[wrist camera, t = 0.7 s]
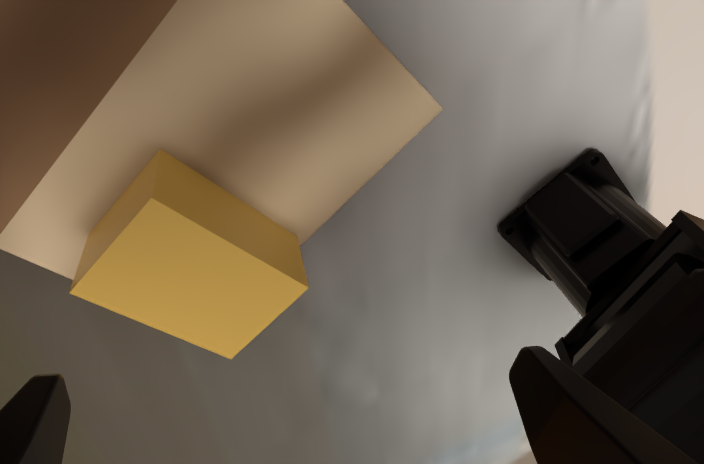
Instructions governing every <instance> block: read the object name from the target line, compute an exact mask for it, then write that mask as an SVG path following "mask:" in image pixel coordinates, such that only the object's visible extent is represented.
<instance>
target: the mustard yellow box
mask: <svg viewBox="0 0 704 464" xmlns="http://www.w3.org/2000/svg"><path fill="white" fill-rule="evenodd" d="M308 288H309V286H308V282H307V278H306V273H305V269H304V265H303V260H302V256H301V252H300V247H299V243H298V239H297V236H296V235H294V234H293V233H291V232H289V231H288V230H286V229H285V228H283V227H282V226H280V225H279V224H277V223H275V222H274V221H272V220H271V219H269V218H268V217H266V216H265V215H263V214H261V213H260V212H258V211H257V210H255V209H254V208H252V207H251V206H249V205H247V204H246V203H244V202H243V201H241V200H240V199H238V198H237V197H235V196H233V195H232V194H230V193H229V192H227V191H226V190H224V189H223V188H221V187H219V186H218V185H216V184H215V183H213V182H212V181H210V180H209V179H207V178H205V177H204V176H202V175H201V174H199V173H198V172H196V171H194V170H193V169H191V168H190V167H188V166H187V165H185V164H184V163H182V162H180V161H179V160H177V159H176V158H174V157H173V156H171V155H170V154H168V153H166V152H165V151H163V150H162V149H160V150H159V151H158V152H157V153H156V154H155V156H154V157H153V158H152V159H151V160H150V162H149V163H148V164H147V165H146V166H145V167H144V169H143V170H142V171H141V172H140V173H139V175H138V176H137V177H136V178H135V179H134V181H133V182H132V183H131V184H130V185H129V187H128V188H127V189H126V190H125V191H124V193H123V194H122V195H121V196H120V197H119V199H118V200H117V201H116V202H115V203H114V204H113V206H112V207H111V208H110V209H109V210H108V212H107V213H106V214H105V215H104V216H103V218H102V219H101V220H100V221H99V222H98V224H97V225H96V226H95V227H94V228H93V230H92V231H91V232H90V233H89V234H88V237H87V240H86V243H85V246H84V249H83V252H82V255H81V259H80V262H79V265H78V268H77V271H76V274H75V277H74V280H73V283H72V286H71V289H70V292H69V293H70V294H73V295H75V296H78V297H80V298H82V299H85V300H87V301H90V302H92V303H95V304H97V305H100V306H102V307H104V308H107V309H109V310H112V311H114V312H117V313H119V314H122V315H124V316H126V317H129V318H131V319H134V320H136V321H139V322H141V323H144V324H146V325H148V326H151V327H153V328H156V329H158V330H161V331H163V332H166V333H168V334H170V335H173V336H175V337H178V338H180V339H183V340H185V341H188V342H190V343H192V344H195V345H197V346H200V347H202V348H205V349H207V350H210V351H212V352H214V353H217V354H219V355H222V356H224V357H227V358H229V359H232V358H233V357H234V356H235V355H236V354H237V353H238V352H239V351H240V350H242V349H243V348H244V347H245V346H246V345H247V344H248V343H249V342H250V341H251V340H252V339H254V338H255V337H256V336H257V335H258V334H259V333H260V332H261V331H262V330H263V329H265V328H266V327H267V326H268V325H269V324H270V323H271V322H272V321H273V320H274V319H275V318H277V317H278V316H279V315H280V314H281V313H282V312H283V311H284V310H285V309H286V308H287V307H289V306H290V305H291V304H292V303H293V302H294V301H295V300H296V299H297V298H298V297H299V296H301V295H302V294H303V293H304V292H305V291H306V290H307V289H308Z"/></svg>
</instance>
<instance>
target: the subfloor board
mask: <svg viewBox="0 0 704 464" xmlns="http://www.w3.org/2000/svg"><path fill="white" fill-rule="evenodd" d="M441 110H443V108H442V107H441V106H440V105H439V104H438V103H437V102H436V101H435V100H434V99H433V98H432V96H431V95H430V94H429V93H428V92H427V91H426V90H425V89H424V88H423V87H422V86H421V84H420V83H419V82H418V81H417V80H416V79H415V78H414V77H413V76H412V75H411V74H410V73H409V71H408V70H407V69H406V68H405V67H404V66H403V65H402V64H401V63H400V62H399V61H398V60H397V58H396V57H395V56H394V55H393V54H392V53H391V52H390V51H389V50H388V49H387V48H386V46H385V45H384V44H383V43H382V42H381V41H380V40H379V39H378V38H377V37H376V36H375V35H374V33H373V32H372V31H371V30H370V29H369V28H368V27H367V26H366V25H365V24H364V23H363V21H362V20H361V19H360V18H359V17H358V16H357V15H356V14H355V13H354V12H353V11H352V10H351V8H350V7H349V6H348V5H347V4H346V3H345V2H344V1H343V0H0V249H2V250H4V251H7V252H9V253H11V254H14V255H16V256H18V257H21V258H23V259H25V260H28V261H30V262H32V263H35V264H37V265H39V266H42V267H44V268H46V269H49V270H51V271H53V272H56V273H58V274H61V275H63V276H65V277H68V278H70V279H72V280H74V277H75V274H76V271H77V268H78V265H79V262H80V259H81V255H82V252H83V249H84V246H85V243H86V240H87V237H88V234H89V233H90V232H91V231H92V230H93V228H94V227H95V226H96V225H97V224H98V222H99V221H100V220H101V219H102V218H103V216H104V215H105V214H106V213H107V212H108V210H109V209H110V208H111V207H112V206H113V204H114V203H115V202H116V201H117V200H118V199H119V197H120V196H121V195H122V194H123V193H124V191H125V190H126V189H127V188H128V187H129V185H130V184H131V183H132V182H133V181H134V179H135V178H136V177H137V176H138V175H139V173H140V172H141V171H142V170H143V169H144V167H145V166H146V165H147V164H148V163H149V162H150V160H151V159H152V158H153V157H154V156H155V154H156V153H157V152H158V151H159V150H160V149H162V150H163V151H165V152H166V153H168V154H170V155H171V156H173V157H174V158H176V159H177V160H179V161H180V162H182V163H184V164H185V165H187V166H188V167H190V168H191V169H193V170H194V171H196V172H198V173H199V174H201V175H202V176H204V177H205V178H207V179H209V180H210V181H212V182H213V183H215V184H216V185H218V186H219V187H221V188H223V189H224V190H226V191H227V192H229V193H230V194H232V195H233V196H235V197H237V198H238V199H240V200H241V201H243V202H244V203H246V204H247V205H249V206H251V207H252V208H254V209H255V210H257V211H258V212H260V213H261V214H263V215H265V216H266V217H268V218H269V219H271V220H272V221H274V222H275V223H277V224H279V225H280V226H282V227H283V228H285V229H286V230H288V231H289V232H291V233H293V234H294V235H296V236H297V239H298V243H299V247H300V246H301V245H302V244H303V243H304V242H305V241H306V240H307V239H308V238H309V237H310V236H311V235H312V234H313V233H314V232H315V231H316V230H317V229H318V228H319V227H320V226H322V225H323V224H324V223H325V222H326V221H327V220H328V219H329V218H330V217H331V216H332V215H333V214H334V213H335V212H336V211H337V210H338V209H339V208H340V207H341V206H342V205H343V204H344V203H345V202H347V201H348V200H349V199H350V198H351V197H352V196H353V195H354V194H355V193H356V192H357V191H358V190H359V189H360V188H361V187H362V186H363V185H364V184H365V183H366V182H367V181H368V180H369V179H371V178H372V177H373V176H374V175H375V174H376V173H377V172H378V171H379V170H380V169H381V168H382V167H383V166H384V165H385V164H386V163H387V162H388V161H389V160H390V159H391V158H392V157H393V156H395V155H396V154H397V153H398V152H399V151H400V150H401V149H402V148H403V147H404V146H405V145H406V144H407V143H408V142H409V141H410V140H411V139H412V138H413V137H414V136H415V135H416V134H417V133H419V132H420V131H421V130H422V129H423V128H424V127H425V126H426V125H427V124H428V123H429V122H430V121H431V120H432V119H433V118H434V117H435V116H436V115H437V114H438V113H439V112H440V111H441Z"/></svg>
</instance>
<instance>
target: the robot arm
mask: <svg viewBox="0 0 704 464" xmlns="http://www.w3.org/2000/svg"><path fill="white" fill-rule="evenodd" d="M593 158H594V159H593ZM592 159H593V160H592ZM591 160H592V161H591ZM671 220H672V221H673V222H672V223H671V224H670V225H669V226H668V227H666V226H665V225H663V224H662V223H661V222H660V221H658V220H657V219H656V218H655V217H653V216H652V215H651V214H650V213H648V212H647V211H646V210H645V209H643V208H642V207H641V206H640V205H638V204H637V203H636V202H635V200H634V199H633V197H632V196H631V194H630V193H629V191H628V190H627V188H626V187H625V186H624V184H623V183H622V181H621V180H620V178H619V177H618V175H617V174H616V172H615V171H614V169H613V168H612V166H611V165H610V164H609V162H608V161H607V159H606V158H605V156H604V155H603V154H602V153H601V152H600V151H598V150H597V149H591V150H589V151H587V152H586V153H584V154H583V155H582V156H581V157H580V158H578V159H577V160H576V161H575V162H574V163H572V164H571V165H570V166H569V167H568V168H566V169H565V170H564V171H563V172H562V173H560V174H559V175H558V176H557V177H556V178H554V179H553V180H552V181H551V182H550V183H548V184H547V185H546V186H545V187H544V188H542V189H541V190H540V191H539V192H538V193H536V194H535V195H534V196H533V197H532V198H530V199H529V200H528V201H527V202H526V203H524V204H523V205H522V206H521V207H520V208H518V209H517V210H516V211H515V212H513V213H512V214H511V215H510V216H509V217H507V218H506V219H505V220H504V221H503V222H501V224H500V225H499V227H498V232H499V233H500V235H501V236H502V237H503V238H504V239H505V240H506V241H507V242H508V243H509V244H510V245H511V246H512V247H514V248H515V249H516V250H517V251H518V252H519V253H520V254H521V255H522V256H523V257H524V258H525V259H526V260H527V261H528V262H529V263H531V264H532V265H533V266H534V267H535V268H536V269H537V270H538V271H539V272H540V273H541V274H542V275H543V276H544V277H545V278H546V279H548V280H549V281H553V282H554V283H555V284H556V285H557V286H558V288H559V289H560V290H561V291H562V292H563V294H564V295H565V296H566V297H567V299H568V300H569V301H570V302H571V303H572V305H573V306H574V307H575V308H576V310H577V311H578V312H579V313H580V314H581V316H582V317H583V318H582V319H581V320H580V321H579V322H578V323H577V324H576V325H575V326H574V327H573V328H572V329H571V331H570V332H569V333H568V334H567V335H566V336H565V337H561V338H560V340H559V341H558V342H557V343H556V344H555V348H556V350H557V353H558V355H559V358H560V360H559V359H558V358H557V357H555V356H554V355H553V354H551V353H550V352H549V351H547V350H546V349H544V348H543V347H540V346H529V347H523V348H522V349H521V350H520V352H519V354H518V355H517V357H516V359H515V361H514V363H513V365H512V367H511V369H510V372H509V380H510V384H511V387H512V390H513V394H514V397H515V400H516V403H517V406H518V409H519V413H520V416H521V419H522V422H523V425H524V428H525V431H526V435H527V438H528V441H529V443H530V446H531V449H532V451H533V454H534V456H535V459H536V461H537V463H538V464H704V220H703V219H701V218H698V217H696V216H693V215H691V214H689V213H686V212H684V211H682V210H680V211H679V212H678V213H677V214H676V215H675V216H674V217H673V218H672V219H671ZM508 228H509V229H508ZM507 229H508V230H507ZM70 411H71V406H70V400H69V396H68V392H67V389H66V385H65V381H64V378H63V376H62V375H61V374H42V375H36V376H34V377H32V378H31V379H30V380H29V381H28V382H27V383H26V384H25V385H24V386H23V387H22V388H21V389H20V390H19V391H18V392H17V393H16V394H15V395H14V396H13V398H12V399H11V400H10V401H9V402H8V403H7V404H6V405H5V406H4V407H3V408H2V409H1V410H0V464H62V459H63V453H64V447H65V442H66V436H67V430H68V425H69V419H70Z"/></svg>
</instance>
